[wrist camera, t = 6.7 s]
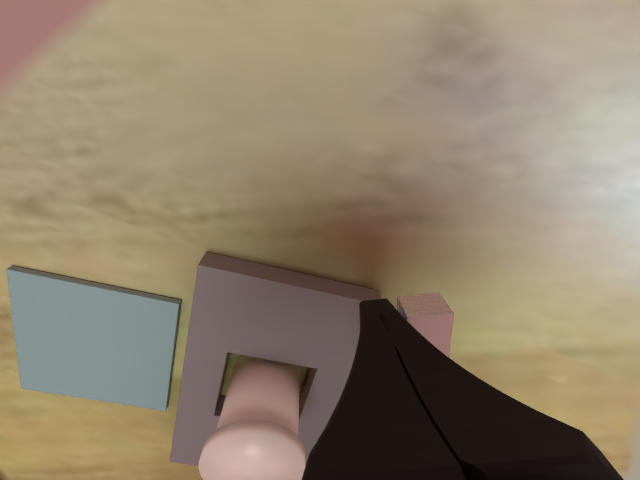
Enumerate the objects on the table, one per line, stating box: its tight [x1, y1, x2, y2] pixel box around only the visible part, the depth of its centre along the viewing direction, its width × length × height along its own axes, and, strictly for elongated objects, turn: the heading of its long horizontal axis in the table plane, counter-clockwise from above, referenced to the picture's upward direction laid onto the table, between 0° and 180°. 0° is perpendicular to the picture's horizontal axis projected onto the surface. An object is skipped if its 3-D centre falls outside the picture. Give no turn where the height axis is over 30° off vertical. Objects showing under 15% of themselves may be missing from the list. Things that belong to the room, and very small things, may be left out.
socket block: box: [170, 252, 381, 466], centre depth 20 cm, size 16×10×2 cm, turn 164°
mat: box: [6, 266, 181, 411], centre depth 19 cm, size 9×9×1 cm
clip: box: [397, 293, 454, 358], centre depth 14 cm, size 14×2×1 cm, turn 4°
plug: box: [198, 355, 305, 480], centre depth 18 cm, size 5×5×6 cm
